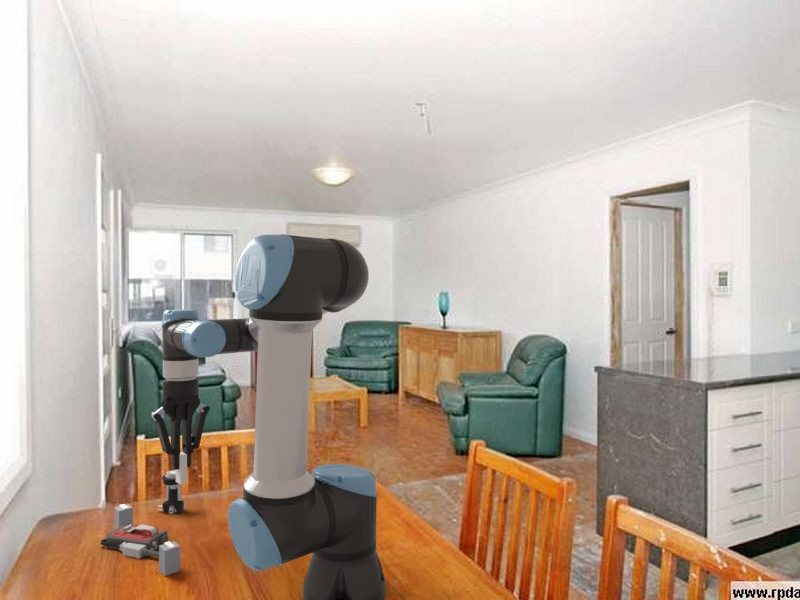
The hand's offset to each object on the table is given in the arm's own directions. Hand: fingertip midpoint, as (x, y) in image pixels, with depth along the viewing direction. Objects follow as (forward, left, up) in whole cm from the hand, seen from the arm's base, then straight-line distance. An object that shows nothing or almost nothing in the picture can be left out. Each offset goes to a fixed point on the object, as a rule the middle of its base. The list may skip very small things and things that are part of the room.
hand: (181, 482), depth 126 cm
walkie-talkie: (0, +8, -13) cm, 15 cm away
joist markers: (0, +8, -12) cm, 15 cm away
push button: (+16, -4, -13) cm, 21 cm away
